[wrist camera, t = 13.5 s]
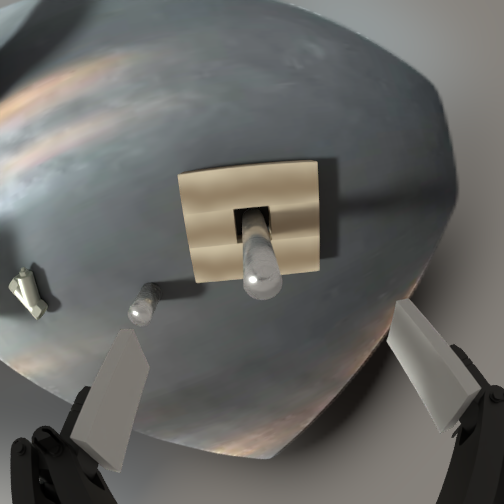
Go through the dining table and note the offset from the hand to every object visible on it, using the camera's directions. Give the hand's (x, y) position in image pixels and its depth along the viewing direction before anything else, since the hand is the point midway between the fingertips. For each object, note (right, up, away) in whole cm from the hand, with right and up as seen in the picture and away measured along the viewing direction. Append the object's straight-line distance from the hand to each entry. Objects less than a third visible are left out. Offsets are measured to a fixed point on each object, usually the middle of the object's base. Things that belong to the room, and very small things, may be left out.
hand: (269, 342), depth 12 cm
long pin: (-1, +8, +20) cm, 22 cm away
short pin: (-15, -1, +24) cm, 28 cm away
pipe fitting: (-36, 0, +21) cm, 41 cm away
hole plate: (-1, +8, +20) cm, 22 cm away
